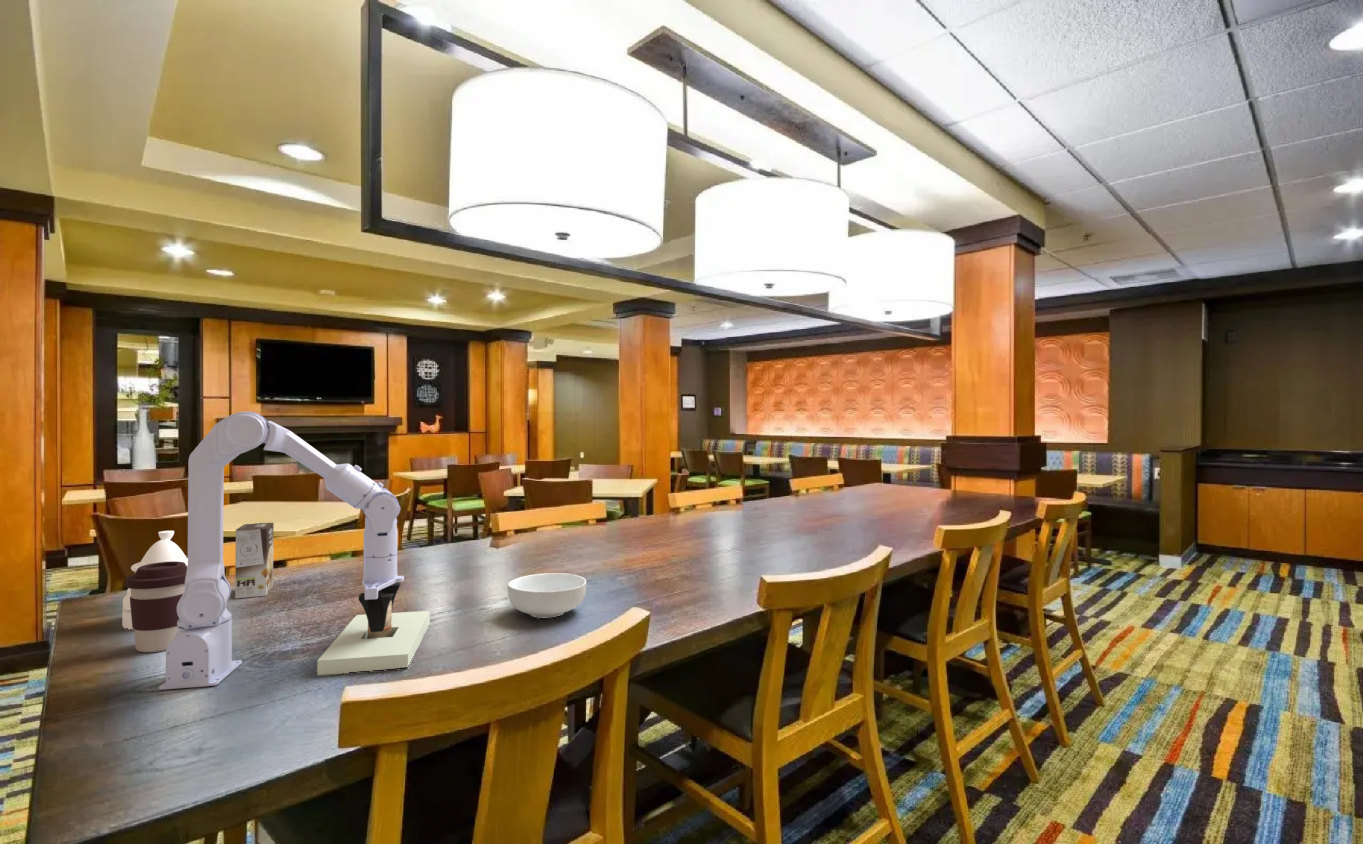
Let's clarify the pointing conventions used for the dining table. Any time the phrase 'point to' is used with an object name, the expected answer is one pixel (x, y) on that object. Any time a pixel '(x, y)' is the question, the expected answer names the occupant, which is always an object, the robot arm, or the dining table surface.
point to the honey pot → (155, 554)
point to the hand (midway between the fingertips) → (380, 627)
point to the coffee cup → (156, 603)
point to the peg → (387, 629)
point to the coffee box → (254, 560)
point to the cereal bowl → (547, 593)
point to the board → (374, 645)
